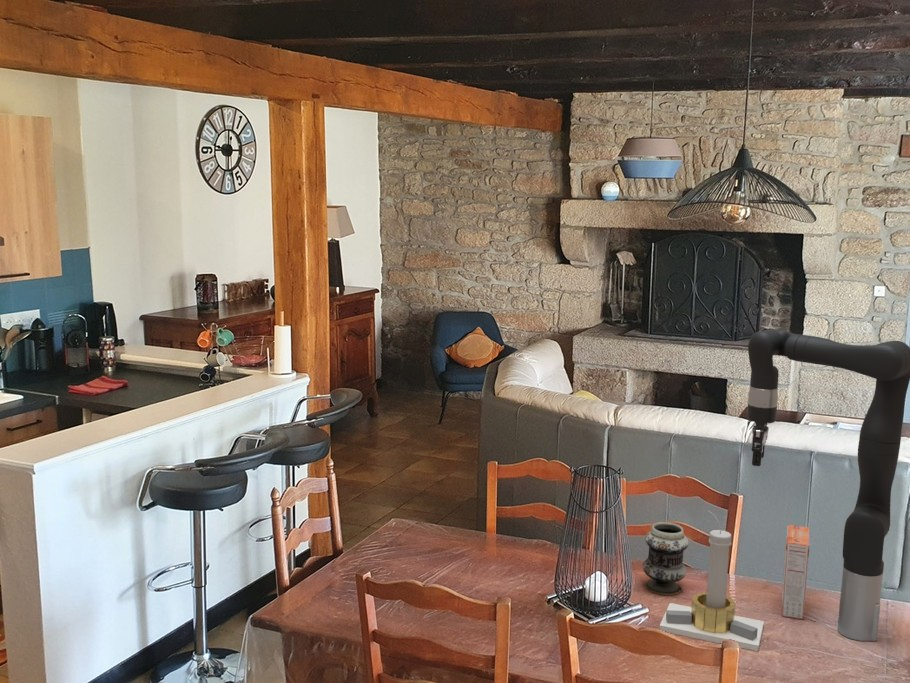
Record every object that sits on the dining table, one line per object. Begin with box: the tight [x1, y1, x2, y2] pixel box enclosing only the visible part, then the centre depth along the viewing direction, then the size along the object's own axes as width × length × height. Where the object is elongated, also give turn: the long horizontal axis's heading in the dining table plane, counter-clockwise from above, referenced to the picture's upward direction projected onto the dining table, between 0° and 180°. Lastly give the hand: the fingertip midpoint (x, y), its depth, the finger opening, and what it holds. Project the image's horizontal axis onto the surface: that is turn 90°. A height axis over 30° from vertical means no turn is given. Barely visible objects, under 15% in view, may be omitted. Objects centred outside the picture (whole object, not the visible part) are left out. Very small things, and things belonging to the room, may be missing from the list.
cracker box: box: [781, 524, 810, 620], centre depth 246 cm, size 14×6×21 cm, turn 159°
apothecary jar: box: [642, 521, 689, 596], centre depth 257 cm, size 12×12×18 cm
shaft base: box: [659, 602, 765, 652], centre depth 235 cm, size 24×14×4 cm, turn 66°
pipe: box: [706, 510, 732, 609], centre depth 232 cm, size 6×6×30 cm
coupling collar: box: [691, 591, 736, 633], centre depth 234 cm, size 10×10×6 cm
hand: (757, 461), depth 250 cm, fingers open, 8 cm apart
